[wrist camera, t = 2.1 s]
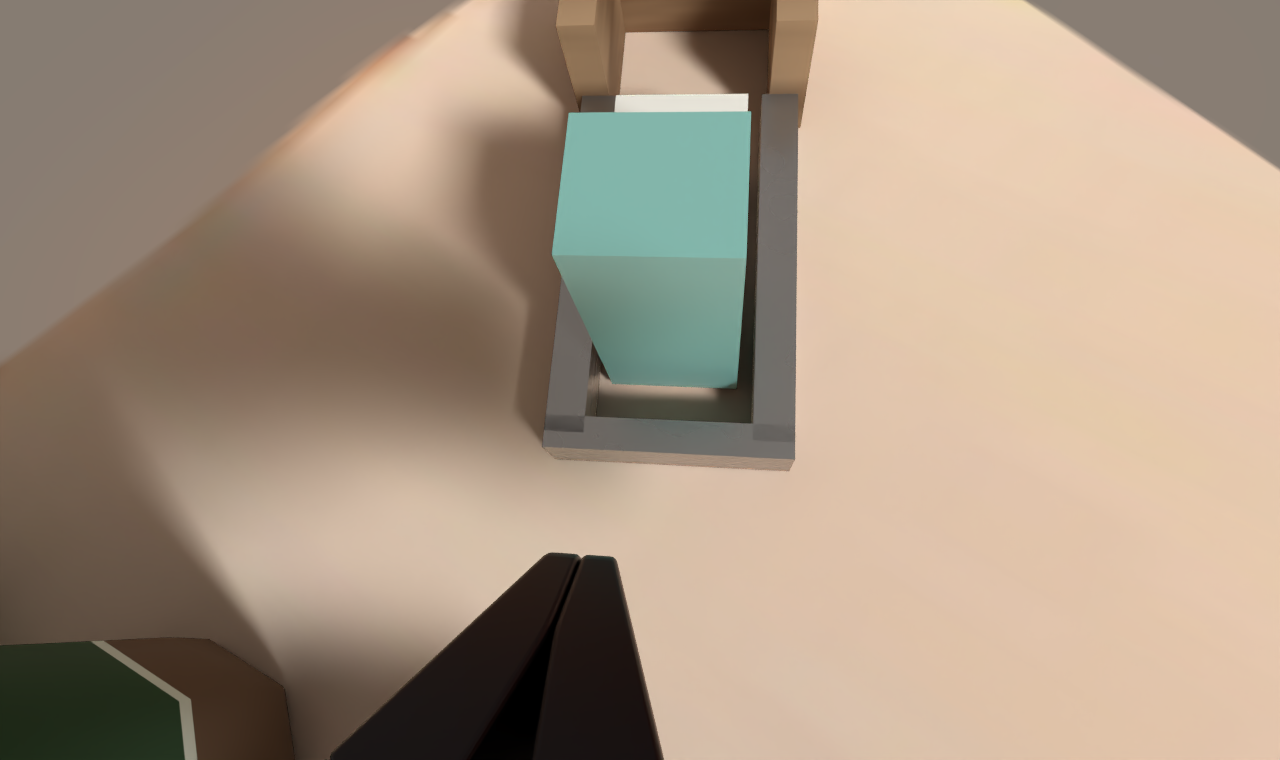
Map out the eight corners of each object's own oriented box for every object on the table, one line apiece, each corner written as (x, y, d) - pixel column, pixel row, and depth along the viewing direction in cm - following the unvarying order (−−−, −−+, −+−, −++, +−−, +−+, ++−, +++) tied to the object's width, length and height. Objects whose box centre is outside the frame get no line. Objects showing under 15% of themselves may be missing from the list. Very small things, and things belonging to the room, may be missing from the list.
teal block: (736, 388, 23) (746, 257, 15) (612, 384, 24) (551, 255, 15) (744, 170, 25) (756, -52, 17) (631, 170, 26) (587, -46, 17)
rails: (789, 471, 22) (794, 459, 21) (555, 458, 23) (542, 446, 22) (793, 127, 26) (798, 93, 24) (590, 128, 27) (582, 96, 25)
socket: (800, 127, 26) (818, 20, 21) (584, 128, 27) (555, 25, 22) (801, 2, 28) (818, -123, 23) (597, 8, 29) (574, -112, 24)
